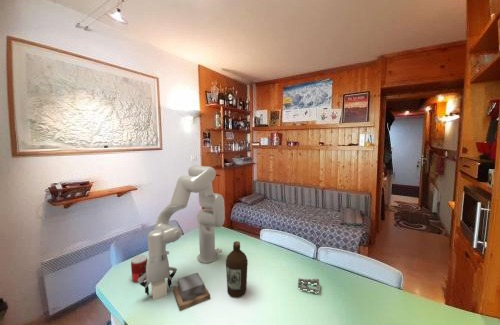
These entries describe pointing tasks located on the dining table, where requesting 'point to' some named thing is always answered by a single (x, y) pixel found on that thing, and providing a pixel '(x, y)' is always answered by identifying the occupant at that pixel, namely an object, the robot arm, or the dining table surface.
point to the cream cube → (159, 289)
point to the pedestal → (190, 291)
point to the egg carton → (305, 284)
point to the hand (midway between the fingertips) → (158, 290)
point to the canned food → (138, 267)
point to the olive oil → (236, 272)
